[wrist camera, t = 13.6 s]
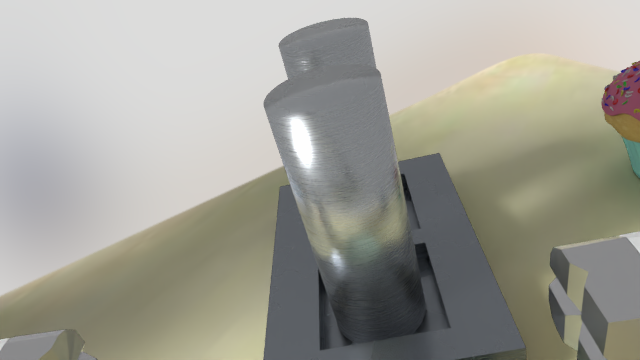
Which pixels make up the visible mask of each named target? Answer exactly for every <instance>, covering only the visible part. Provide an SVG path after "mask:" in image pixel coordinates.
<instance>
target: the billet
mask: <svg viewBox="0 0 640 360" xmlns="http://www.w3.org/2000/svg"><path fill="white" fill-rule="evenodd" d="M264 108H265V111H266V114H267V117H268V120H269V123H270V126H271V129H272V131H273V135H274V138H275V141H276V144H277V147H278V150H279V153H280V155H281V158H282V161H283V164H284V167H285V170H286V173H287V176H288V179H289V182H290V185H291V188H292V191H293V194H294V197H295V200H296V203H297V206H298V209H299V212H300V215H301V218H302V221H303V224H304V227H305V230H306V233H307V236H308V239H309V241H310V244H311V247H312V250H313V253H314V256H315V259H316V262H317V265H318V268H319V271H320V274H321V277H322V280H323V283H324V286H325V289H326V292H327V295H328V298H329V301H330V304H331V307H332V310H333V313H334V316H335V319H336V322H337V324H338V327H339V329H340V331H341V332H342V333H343V334H344V335H345V336H346V337H347V338H348V339H350V340H351V341H353V342H355V343H358V344H360V343H366V342H372V341H378V340H384V339H389V338H395V337H401V336H407V335H411V334H412V333H414V332H415V331H416V330H417V328H418V327H419V326H420V324H421V323H422V321H423V319H424V316H425V312H426V302H425V297H424V292H423V287H422V282H421V277H420V272H419V267H418V262H417V256H416V251H415V246H414V241H413V236H412V231H411V226H410V221H409V216H408V211H407V206H406V201H405V196H404V190H403V185H402V180H401V175H400V170H399V165H398V160H397V155H396V150H395V145H394V140H393V135H392V130H391V124H390V119H389V114H388V109H387V104H386V100H385V94H384V89H383V84H382V79H381V74H380V72H379V71H378V70H377V69H376V68H374V67H372V66H370V65H366V64H357V63H347V64H337V65H330V66H325V67H321V68H317V69H313V70H310V71H307V72H304V73H302V74H299V75H297V76H294V77H292V78H290V79H288V80H286V81H285V82H283V83H281V84H280V85H278V86H277V87H276V88H274V89H273V90H272V91H271V92H270V93H269V94H268V95H267V96H266V98H265V100H264Z"/></svg>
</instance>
